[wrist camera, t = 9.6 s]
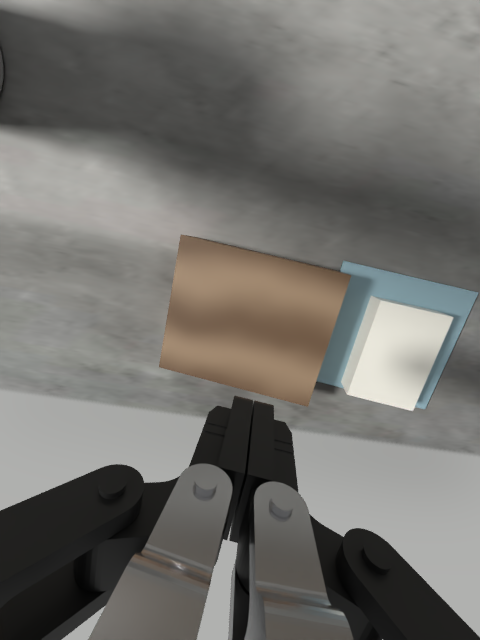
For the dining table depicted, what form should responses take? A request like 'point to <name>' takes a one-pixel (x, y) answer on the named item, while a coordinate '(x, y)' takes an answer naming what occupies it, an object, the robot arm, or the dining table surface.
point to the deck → (250, 319)
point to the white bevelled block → (394, 352)
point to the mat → (399, 290)
